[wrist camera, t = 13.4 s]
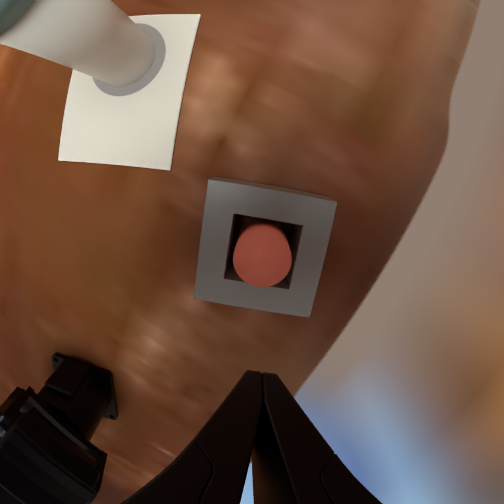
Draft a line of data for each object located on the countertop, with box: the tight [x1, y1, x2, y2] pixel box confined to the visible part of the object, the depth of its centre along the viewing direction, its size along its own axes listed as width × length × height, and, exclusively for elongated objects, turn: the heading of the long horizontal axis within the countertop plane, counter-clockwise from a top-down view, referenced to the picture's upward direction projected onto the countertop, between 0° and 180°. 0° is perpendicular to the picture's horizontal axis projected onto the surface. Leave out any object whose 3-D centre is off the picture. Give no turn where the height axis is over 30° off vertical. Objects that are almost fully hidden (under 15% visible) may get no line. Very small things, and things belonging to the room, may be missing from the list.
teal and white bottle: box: [0, 0, 155, 87], centre depth 10 cm, size 4×4×14 cm
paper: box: [58, 14, 201, 170], centre depth 17 cm, size 11×9×1 cm
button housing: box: [194, 177, 337, 317], centre depth 19 cm, size 7×7×3 cm
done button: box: [233, 218, 292, 287], centre depth 18 cm, size 3×3×4 cm
